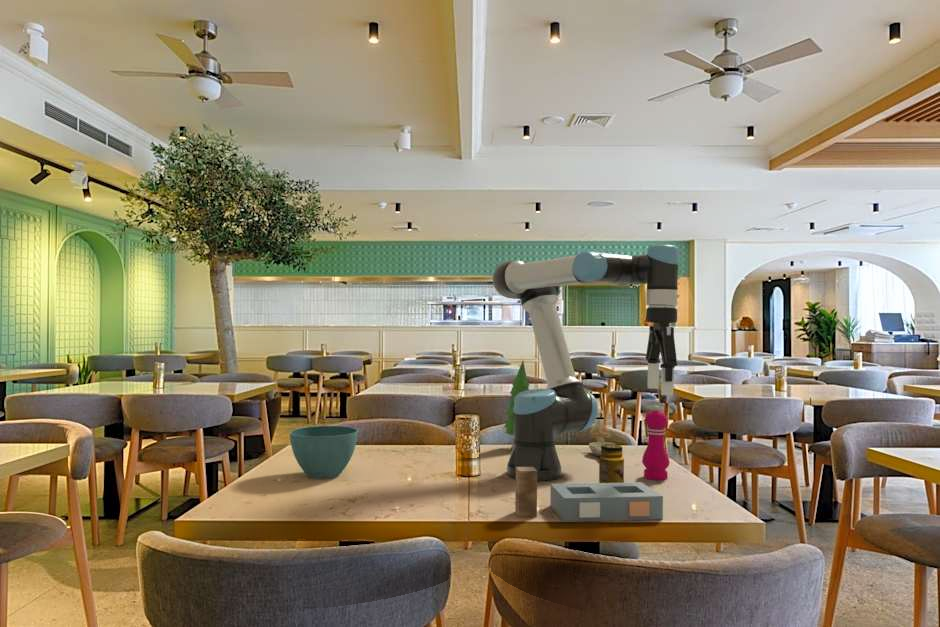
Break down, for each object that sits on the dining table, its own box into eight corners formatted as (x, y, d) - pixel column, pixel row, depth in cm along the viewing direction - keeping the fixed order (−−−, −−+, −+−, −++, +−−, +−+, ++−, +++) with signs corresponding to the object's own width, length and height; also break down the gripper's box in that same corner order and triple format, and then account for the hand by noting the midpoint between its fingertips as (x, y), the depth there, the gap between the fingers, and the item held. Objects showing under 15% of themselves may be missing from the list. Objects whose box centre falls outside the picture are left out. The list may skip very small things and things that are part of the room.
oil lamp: (611, 449, 214) (611, 419, 214) (622, 463, 193) (622, 430, 193) (585, 448, 214) (585, 419, 215) (593, 462, 193) (593, 429, 193)
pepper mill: (670, 481, 171) (671, 407, 171) (643, 479, 172) (643, 406, 173) (667, 475, 178) (668, 403, 178) (641, 473, 179) (641, 403, 180)
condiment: (630, 496, 155) (630, 447, 155) (598, 498, 153) (598, 449, 153) (616, 489, 162) (617, 442, 162) (586, 490, 160) (586, 443, 160)
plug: (518, 517, 138) (519, 471, 138) (515, 511, 142) (515, 467, 142) (536, 516, 138) (537, 470, 138) (532, 511, 142) (533, 466, 142)
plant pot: (276, 475, 173) (276, 430, 173) (332, 464, 186) (332, 423, 186) (313, 487, 160) (314, 439, 160) (370, 475, 174) (371, 430, 174)
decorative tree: (538, 448, 213) (538, 359, 214) (521, 452, 206) (522, 360, 206) (515, 444, 220) (515, 358, 220) (498, 448, 212) (499, 359, 213)
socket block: (564, 522, 134) (564, 499, 134) (550, 505, 147) (550, 484, 147) (663, 520, 137) (664, 496, 137) (641, 503, 149) (641, 482, 149)
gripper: (692, 306, 146) (690, 398, 146) (663, 307, 171) (661, 386, 171) (659, 306, 146) (657, 397, 146) (635, 307, 171) (633, 385, 171)
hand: (659, 391), depth 158 cm, fingers open, 13 cm apart
